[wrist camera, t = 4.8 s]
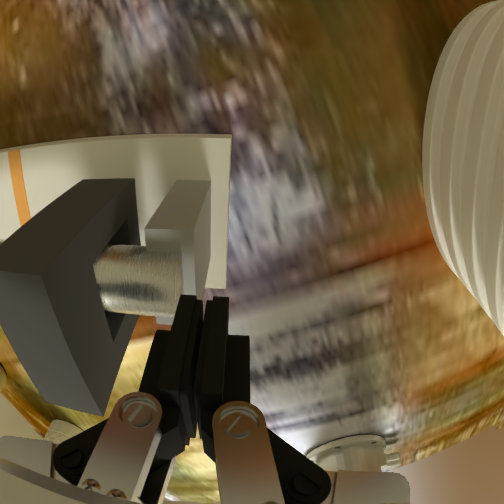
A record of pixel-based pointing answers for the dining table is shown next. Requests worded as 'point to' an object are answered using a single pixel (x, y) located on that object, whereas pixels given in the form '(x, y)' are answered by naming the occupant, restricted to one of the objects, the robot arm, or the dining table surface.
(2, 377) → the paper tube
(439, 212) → the plate stack
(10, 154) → the orange strap
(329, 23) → the dining table surface
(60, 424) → the white cup
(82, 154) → the pipe stand
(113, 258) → the pipe
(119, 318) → the collar
